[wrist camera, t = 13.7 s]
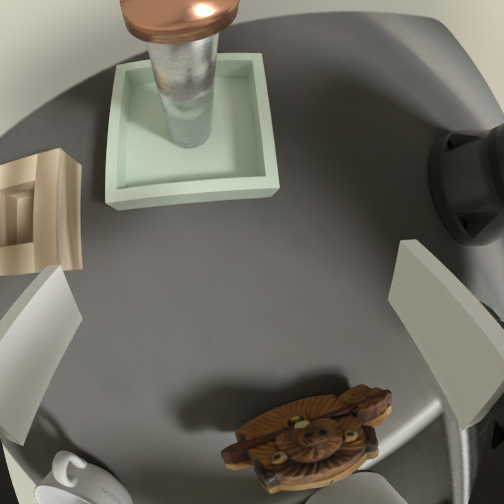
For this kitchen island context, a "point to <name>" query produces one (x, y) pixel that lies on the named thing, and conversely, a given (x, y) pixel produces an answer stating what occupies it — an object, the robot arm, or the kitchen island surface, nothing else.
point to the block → (40, 213)
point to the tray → (193, 159)
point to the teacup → (79, 483)
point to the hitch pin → (182, 58)
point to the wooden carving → (311, 439)
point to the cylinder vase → (358, 491)
